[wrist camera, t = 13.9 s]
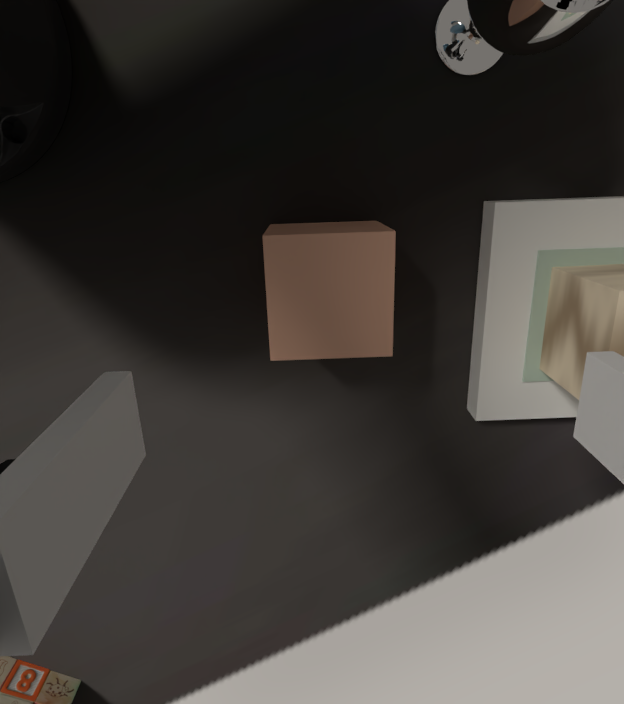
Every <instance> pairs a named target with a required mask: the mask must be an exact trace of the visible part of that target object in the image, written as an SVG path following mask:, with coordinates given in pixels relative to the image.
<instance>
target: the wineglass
mask: <svg viewBox="0 0 624 704" xmlns="http://www.w3.org/2000/svg"><path fill="white" fill-rule="evenodd" d="M613 1H614V0H448V1H447V3H446V4H445V5H444V6H443V8H442V10H441V12H440V14H439V16H438V19H437V22H436V26H435V37H434V39H435V46H436V50H437V53H438V55H439V57H440V59H441V60H442V62H443V63H444V65H445V66H446V67H448V68H449V69H450V70H451V71H453V72H455V73H457V74H461V75H469V76H472V75H477V74H480V73H482V72H485V71H486V70H488V69H490V68H491V67H492V66H493V65H495V64H496V62H497V61H498V60H499V59H500V58H501V56H502V54H503V53H506V54H509V55H519V56H527V55H534V54H538V53H542V52H546V51H549V50H551V49H554V48H556V47H558V46H560V45H562V44H564V43H565V42H567V41H569V40H570V39H572V38H573V37H574V36H576V35H577V34H578V33H580V32H581V31H582V30H584V29H585V28H586V27H587V26H589V25H590V24H591V23H592V22H593V21H594V20H595V19H596V18H597V17H598V16H599V15H600V14H601V13H602V12H603V11H604V10H605V9H606V8H607V7H608V6H609V5H610V4H611V3H612V2H613Z"/></svg>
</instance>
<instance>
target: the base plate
mask: <svg viewBox="0 0 624 704" xmlns="http://www.w3.org/2000/svg"><path fill="white" fill-rule="evenodd" d="M608 264H624V196H614V197H585V198H557V199H528V200H500V201H484V205H483V217H482V230H481V242H480V254H479V266H478V278H477V291H476V303H475V315H474V327H473V339H472V351H471V364H470V376H469V388H468V400H467V410H468V411H469V412H470V414H471V415H472V416H473V418H474V419H475V421H488V420H513V419H539V418H564V417H577V411H578V405H579V400H578V399H577V398H575V397H574V396H573V395H572V394H570V393H569V392H568V391H567V390H565V389H564V388H563V387H561V386H560V385H559V384H558V383H556V382H555V381H554V380H553V379H551V378H550V377H549V376H548V375H546V374H545V373H544V372H543V371H541V370H540V369H539V368H540V360H541V352H542V344H543V336H544V328H545V320H546V312H547V304H548V295H549V287H550V279H551V271H552V267H564V266H586V265H608Z"/></svg>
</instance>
